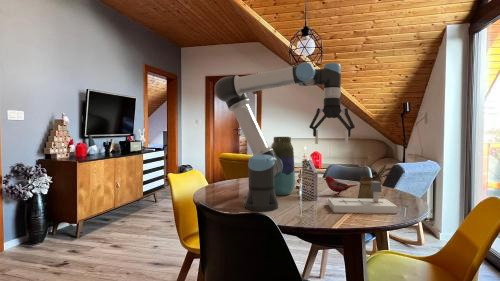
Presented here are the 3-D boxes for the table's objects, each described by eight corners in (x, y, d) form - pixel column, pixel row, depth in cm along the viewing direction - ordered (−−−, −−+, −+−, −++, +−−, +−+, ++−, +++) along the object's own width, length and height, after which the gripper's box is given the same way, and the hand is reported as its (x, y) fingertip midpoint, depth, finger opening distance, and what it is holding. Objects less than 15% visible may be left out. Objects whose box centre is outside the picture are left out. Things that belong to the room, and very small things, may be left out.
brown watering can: (388, 202, 152) (388, 165, 151) (358, 201, 155) (358, 164, 155) (384, 198, 161) (385, 163, 160) (356, 197, 164) (356, 162, 163)
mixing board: (333, 212, 135) (333, 205, 135) (328, 204, 149) (328, 198, 149) (397, 213, 133) (397, 205, 133) (385, 205, 147) (385, 198, 147)
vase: (266, 195, 170) (266, 137, 169) (272, 190, 183) (272, 136, 182) (292, 197, 166) (292, 137, 165) (296, 192, 179) (296, 136, 178)
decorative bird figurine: (324, 193, 175) (324, 175, 174) (358, 195, 168) (358, 177, 168) (323, 194, 172) (323, 176, 172) (357, 196, 165) (358, 177, 165)
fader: (374, 202, 138) (374, 182, 138) (370, 200, 143) (370, 180, 143) (381, 202, 138) (381, 182, 137) (377, 200, 143) (377, 181, 142)
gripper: (305, 97, 143) (304, 144, 144) (362, 96, 141) (361, 144, 142) (303, 98, 151) (303, 143, 152) (357, 98, 149) (357, 143, 149)
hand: (331, 144), depth 147 cm, fingers open, 13 cm apart
